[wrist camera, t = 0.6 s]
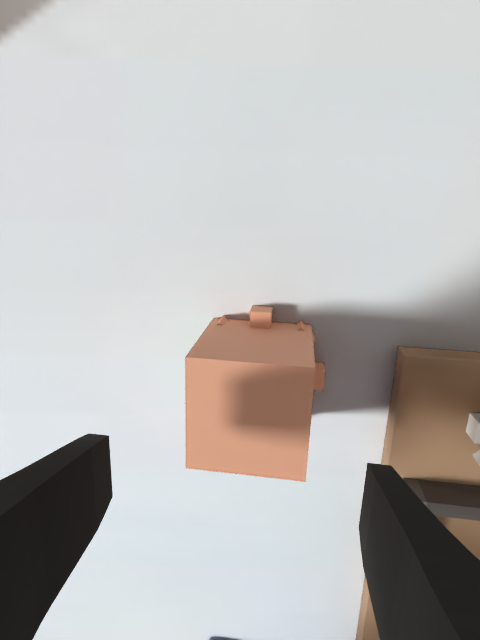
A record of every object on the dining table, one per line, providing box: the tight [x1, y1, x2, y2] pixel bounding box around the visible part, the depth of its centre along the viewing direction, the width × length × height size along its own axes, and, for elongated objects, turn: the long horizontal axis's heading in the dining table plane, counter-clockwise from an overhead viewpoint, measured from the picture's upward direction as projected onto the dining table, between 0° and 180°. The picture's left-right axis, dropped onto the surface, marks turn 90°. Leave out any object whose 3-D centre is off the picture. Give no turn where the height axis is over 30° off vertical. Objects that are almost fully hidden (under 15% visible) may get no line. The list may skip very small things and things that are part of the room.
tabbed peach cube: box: [185, 306, 325, 481], centre depth 17 cm, size 6×6×5 cm
